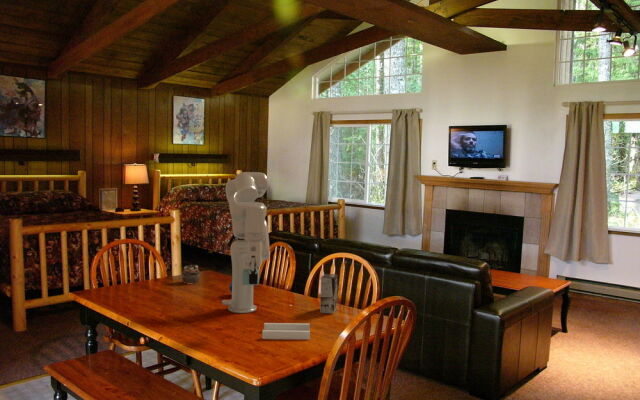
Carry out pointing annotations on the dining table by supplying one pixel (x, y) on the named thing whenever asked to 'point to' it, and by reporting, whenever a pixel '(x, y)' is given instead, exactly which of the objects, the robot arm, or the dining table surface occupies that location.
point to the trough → (286, 331)
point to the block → (246, 277)
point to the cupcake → (190, 274)
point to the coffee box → (328, 293)
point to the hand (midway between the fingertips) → (254, 281)
